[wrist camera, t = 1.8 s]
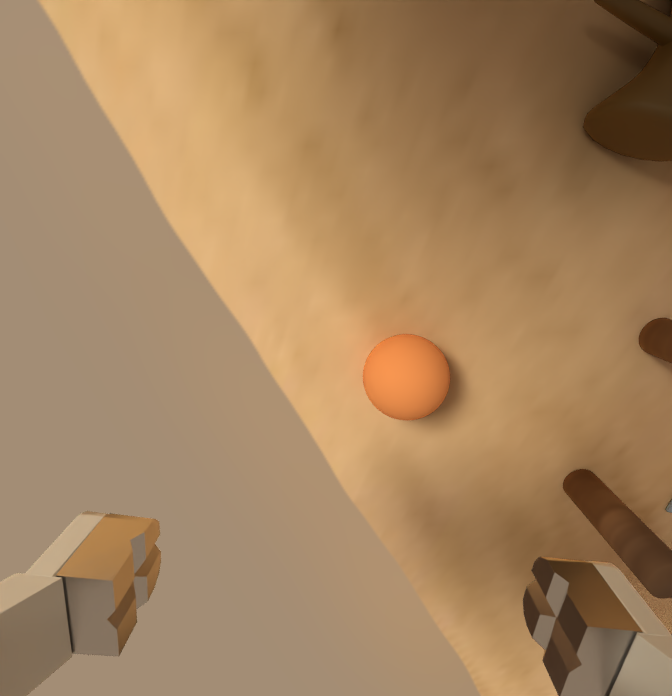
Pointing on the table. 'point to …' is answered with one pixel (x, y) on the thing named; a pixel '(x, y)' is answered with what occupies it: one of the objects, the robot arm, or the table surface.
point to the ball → (406, 377)
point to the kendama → (639, 92)
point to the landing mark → (669, 507)
